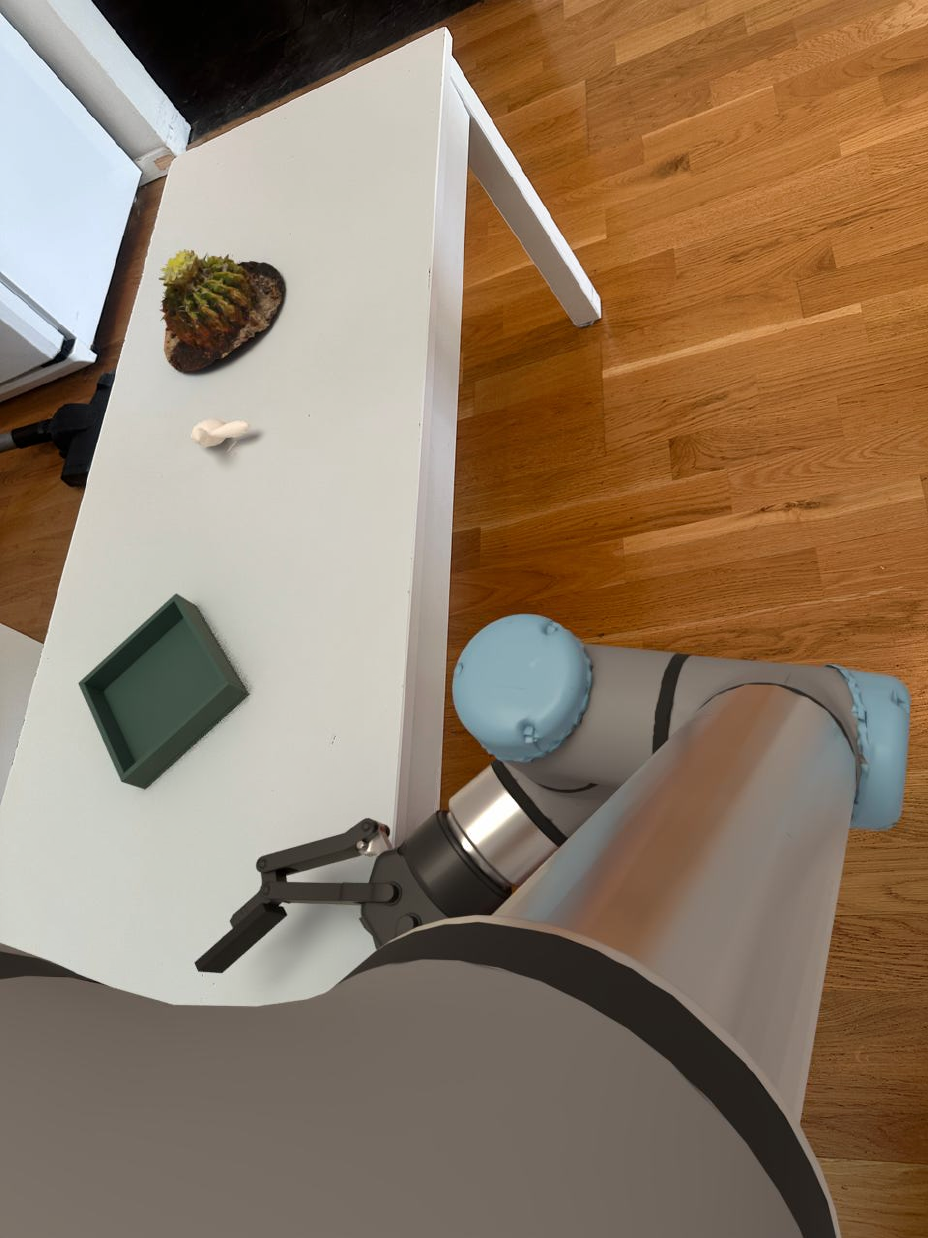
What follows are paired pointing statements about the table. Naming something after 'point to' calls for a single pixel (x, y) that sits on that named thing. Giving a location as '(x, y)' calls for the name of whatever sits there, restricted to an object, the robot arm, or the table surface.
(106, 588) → the table surface
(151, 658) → the tray
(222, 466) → the table surface
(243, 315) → the cactus
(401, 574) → the table surface
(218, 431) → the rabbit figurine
